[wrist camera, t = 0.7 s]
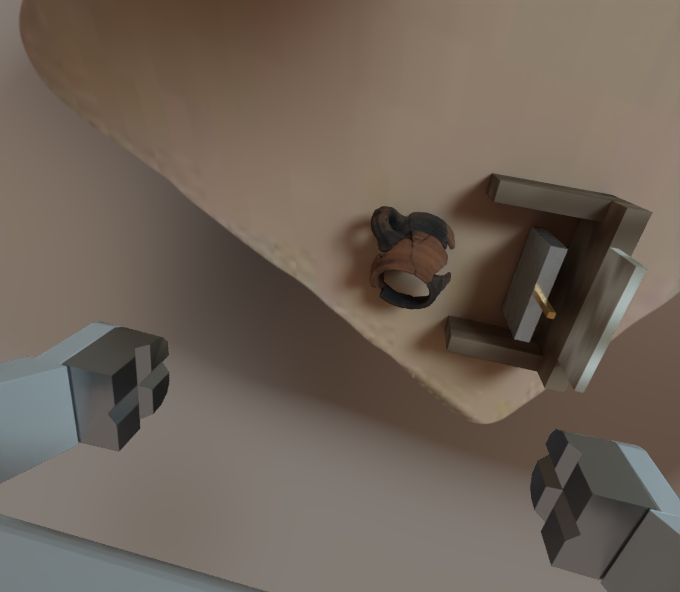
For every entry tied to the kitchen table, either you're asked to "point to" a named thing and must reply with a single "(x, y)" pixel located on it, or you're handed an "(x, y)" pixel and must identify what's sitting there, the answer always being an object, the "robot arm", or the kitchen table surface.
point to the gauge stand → (567, 286)
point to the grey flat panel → (533, 283)
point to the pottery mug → (410, 253)
